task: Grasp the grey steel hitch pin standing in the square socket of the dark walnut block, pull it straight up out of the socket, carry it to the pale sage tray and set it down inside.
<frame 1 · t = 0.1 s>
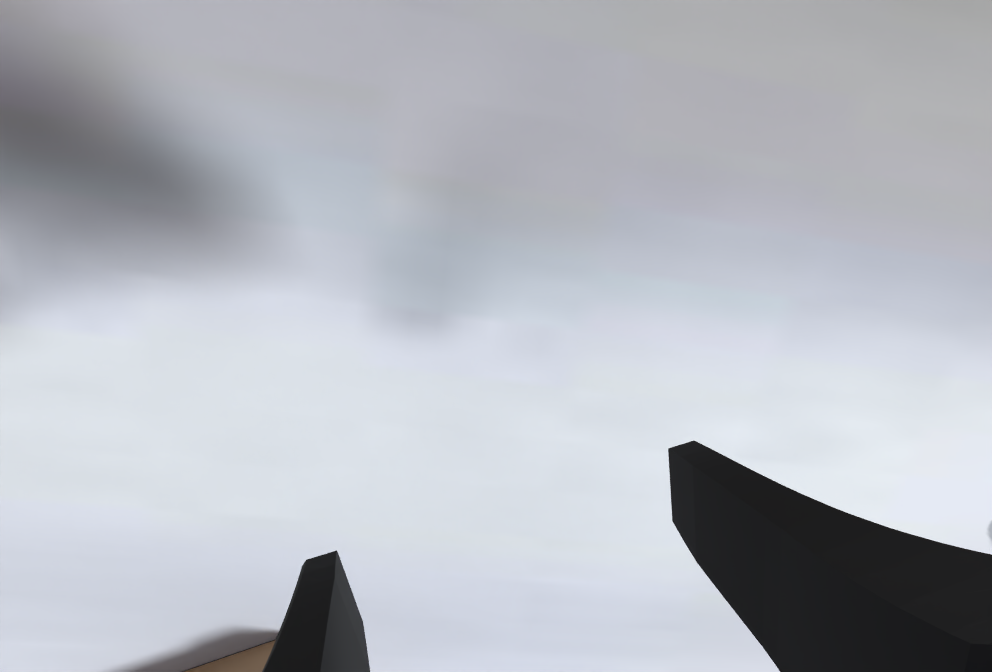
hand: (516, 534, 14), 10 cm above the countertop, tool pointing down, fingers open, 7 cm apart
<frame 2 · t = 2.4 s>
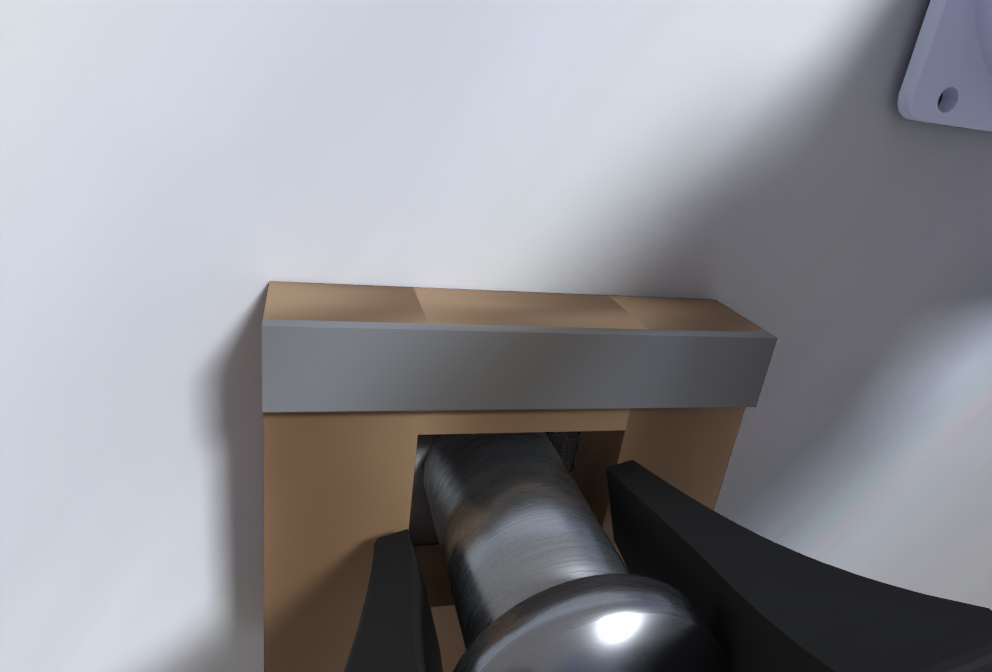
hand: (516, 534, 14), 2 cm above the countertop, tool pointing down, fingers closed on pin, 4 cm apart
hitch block: (488, 468, 16), on the countertop
pin: (530, 567, 13), in the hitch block, touching gripper
when the fingers open (4 cm above the countertop, at t = 5.9 s): pin stays where it is, resting on tray.
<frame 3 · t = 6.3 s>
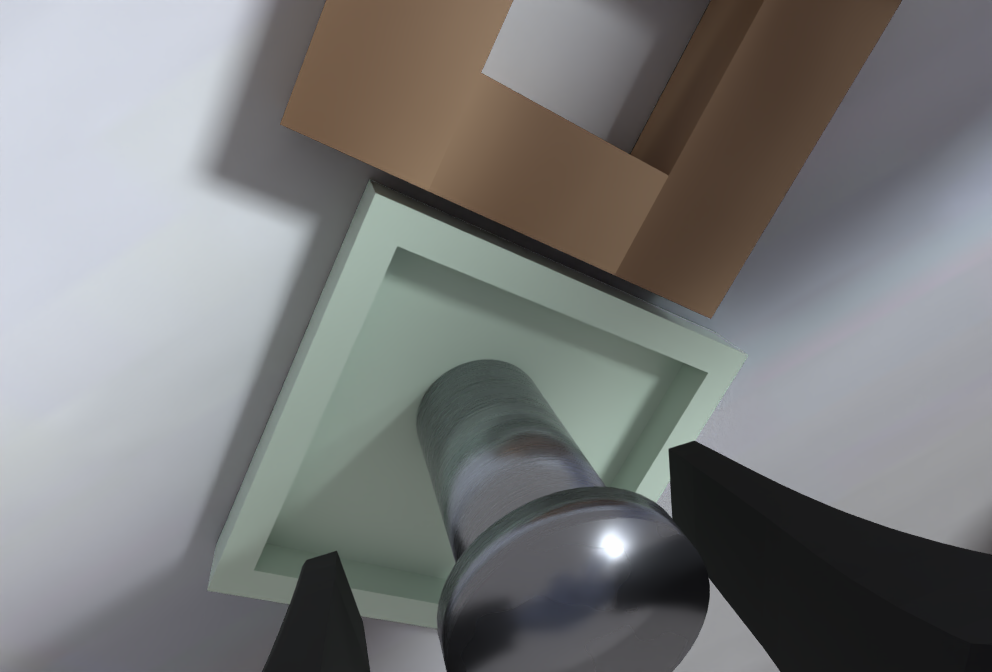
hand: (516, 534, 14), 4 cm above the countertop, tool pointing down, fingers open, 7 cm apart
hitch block: (595, 18, 14), on the countertop
tray: (475, 435, 17), on the countertop
pin: (520, 501, 13), in the tray
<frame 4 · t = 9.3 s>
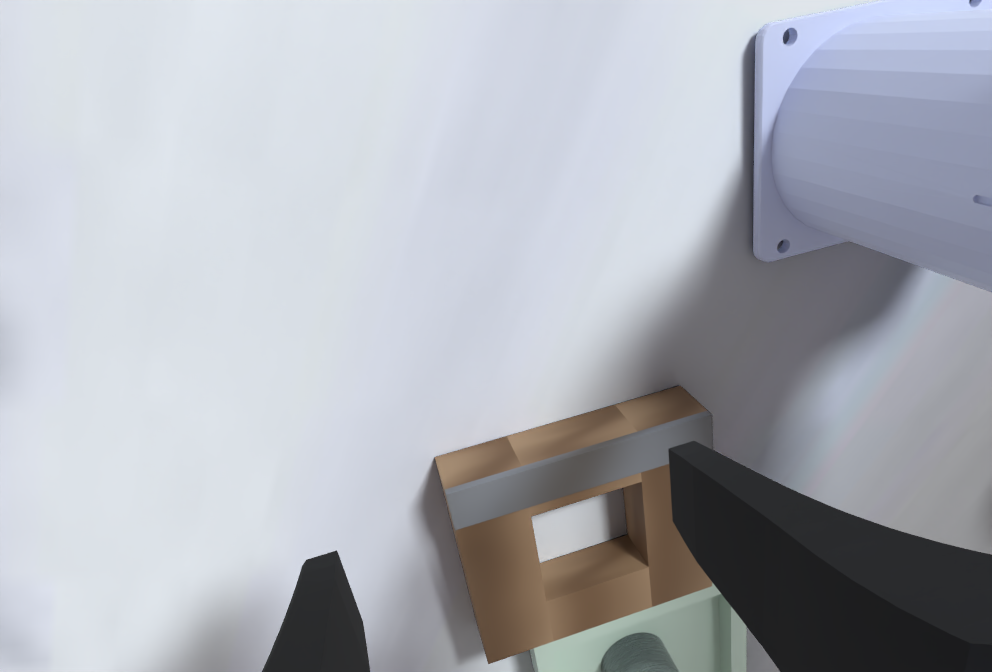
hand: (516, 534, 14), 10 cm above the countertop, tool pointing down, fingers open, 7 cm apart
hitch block: (574, 510, 27), on the countertop
tray: (635, 656, 32), on the countertop
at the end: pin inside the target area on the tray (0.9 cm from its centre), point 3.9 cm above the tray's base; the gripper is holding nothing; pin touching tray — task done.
